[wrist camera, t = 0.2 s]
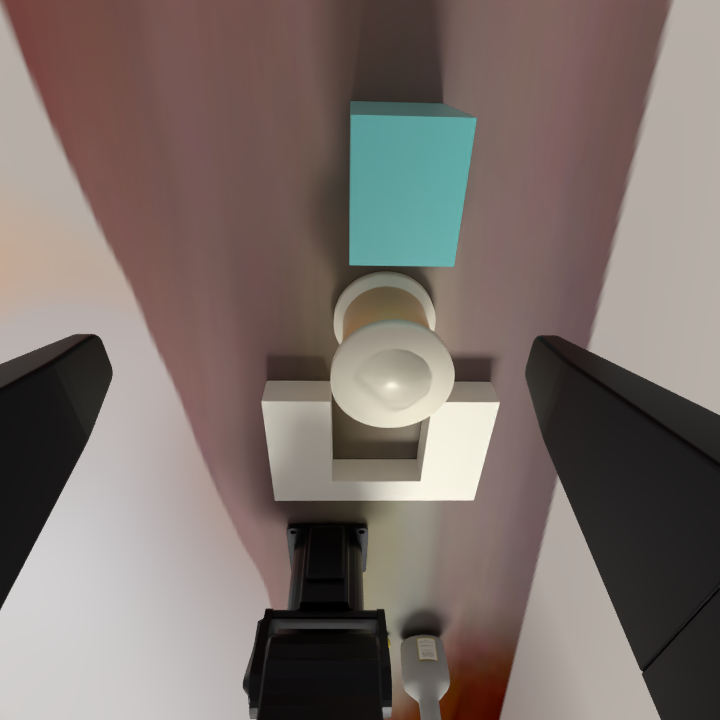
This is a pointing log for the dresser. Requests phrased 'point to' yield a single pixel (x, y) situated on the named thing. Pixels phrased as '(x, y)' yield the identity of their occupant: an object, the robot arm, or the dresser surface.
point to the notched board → (375, 476)
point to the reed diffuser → (425, 672)
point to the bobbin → (388, 352)
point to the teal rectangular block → (407, 182)
